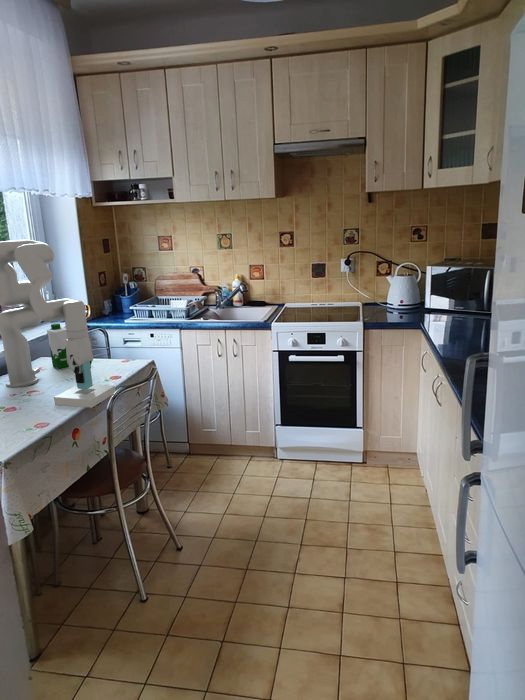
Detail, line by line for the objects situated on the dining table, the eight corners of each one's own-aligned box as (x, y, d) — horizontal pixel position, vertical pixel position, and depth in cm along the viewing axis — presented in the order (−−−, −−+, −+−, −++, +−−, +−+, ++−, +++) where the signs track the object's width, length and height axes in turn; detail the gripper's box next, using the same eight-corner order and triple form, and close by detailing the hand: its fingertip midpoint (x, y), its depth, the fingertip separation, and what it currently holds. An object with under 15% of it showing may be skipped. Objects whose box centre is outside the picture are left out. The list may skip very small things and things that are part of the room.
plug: (83, 385, 204) (80, 360, 201) (92, 385, 203) (89, 360, 200) (77, 388, 200) (73, 363, 198) (86, 389, 199) (83, 363, 196)
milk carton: (67, 362, 254) (62, 322, 249) (76, 366, 248) (71, 324, 243) (50, 367, 248) (43, 325, 243) (59, 370, 242) (52, 327, 237)
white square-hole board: (89, 385, 218) (88, 378, 217) (123, 388, 213) (123, 381, 213) (54, 404, 198) (53, 397, 197) (91, 407, 193) (90, 399, 192)
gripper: (82, 329, 205) (88, 374, 210) (54, 339, 190) (61, 387, 194) (99, 329, 203) (105, 374, 207) (72, 339, 187) (79, 388, 192)
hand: (84, 380), depth 201 cm, fingers closed on plug, 4 cm apart
